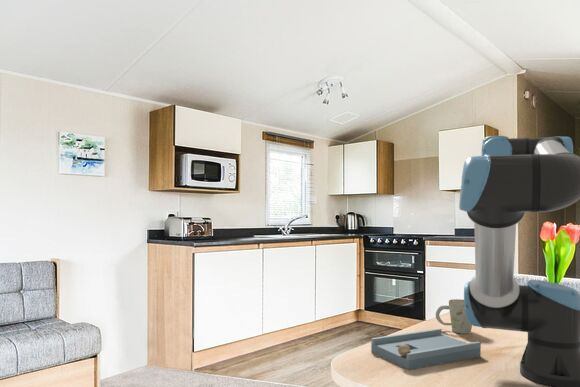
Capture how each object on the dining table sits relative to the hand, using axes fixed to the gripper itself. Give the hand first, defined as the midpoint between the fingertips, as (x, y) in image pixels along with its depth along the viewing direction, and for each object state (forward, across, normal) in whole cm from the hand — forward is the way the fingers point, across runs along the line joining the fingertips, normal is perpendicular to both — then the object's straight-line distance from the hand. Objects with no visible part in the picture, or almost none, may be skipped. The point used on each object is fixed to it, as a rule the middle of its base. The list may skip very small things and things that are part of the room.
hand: (495, 267), depth 141 cm
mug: (+25, -5, -20) cm, 32 cm away
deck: (+24, +22, -5) cm, 34 cm away
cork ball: (+20, +34, -1) cm, 40 cm away
